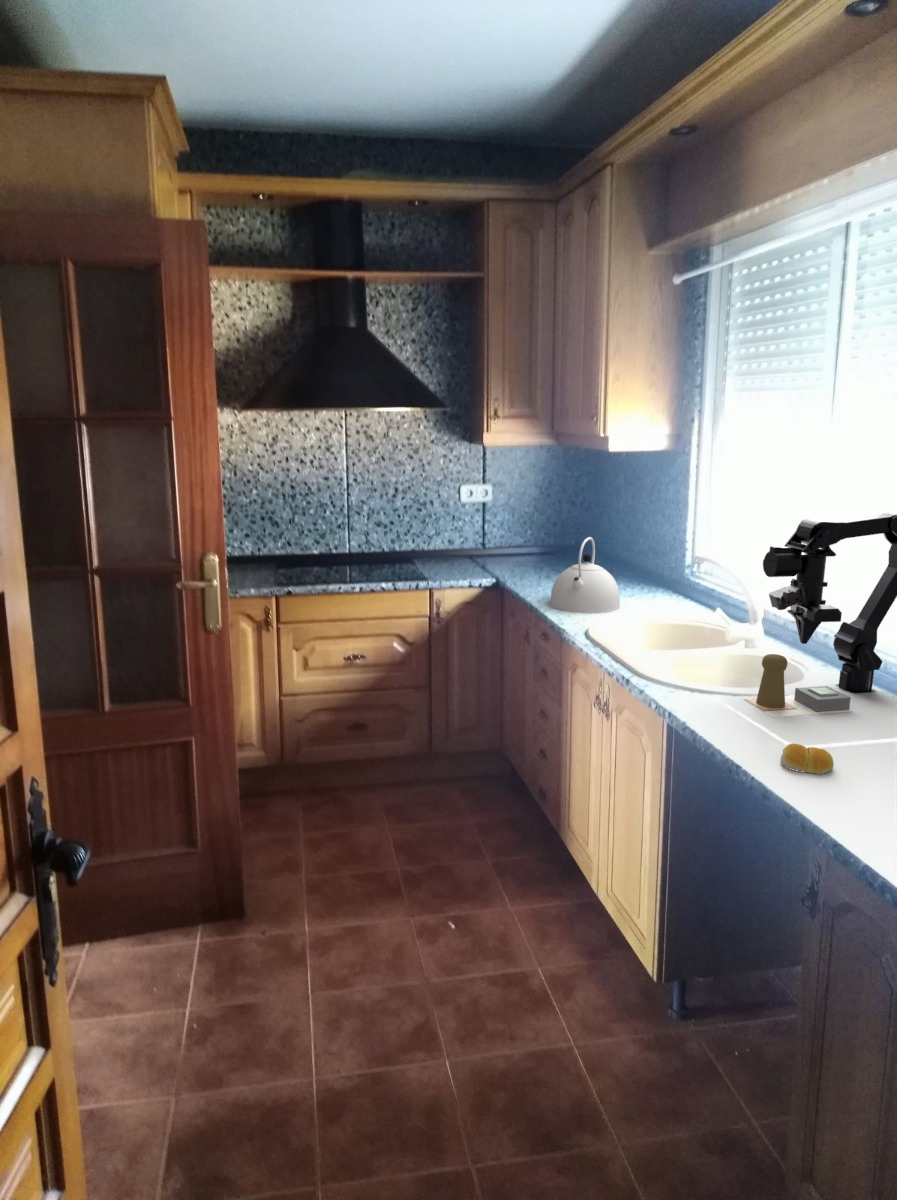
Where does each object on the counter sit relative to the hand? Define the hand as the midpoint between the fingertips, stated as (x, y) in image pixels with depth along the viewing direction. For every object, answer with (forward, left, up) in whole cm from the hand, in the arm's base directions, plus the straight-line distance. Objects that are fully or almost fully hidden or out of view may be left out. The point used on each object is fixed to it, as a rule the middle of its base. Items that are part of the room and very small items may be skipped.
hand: (803, 643), depth 199 cm
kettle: (+16, -94, -12) cm, 96 cm away
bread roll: (+24, +37, -12) cm, 46 cm away
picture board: (+6, +9, -12) cm, 16 cm away
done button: (+1, +10, -11) cm, 14 cm away
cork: (+12, +7, -11) cm, 18 cm away
